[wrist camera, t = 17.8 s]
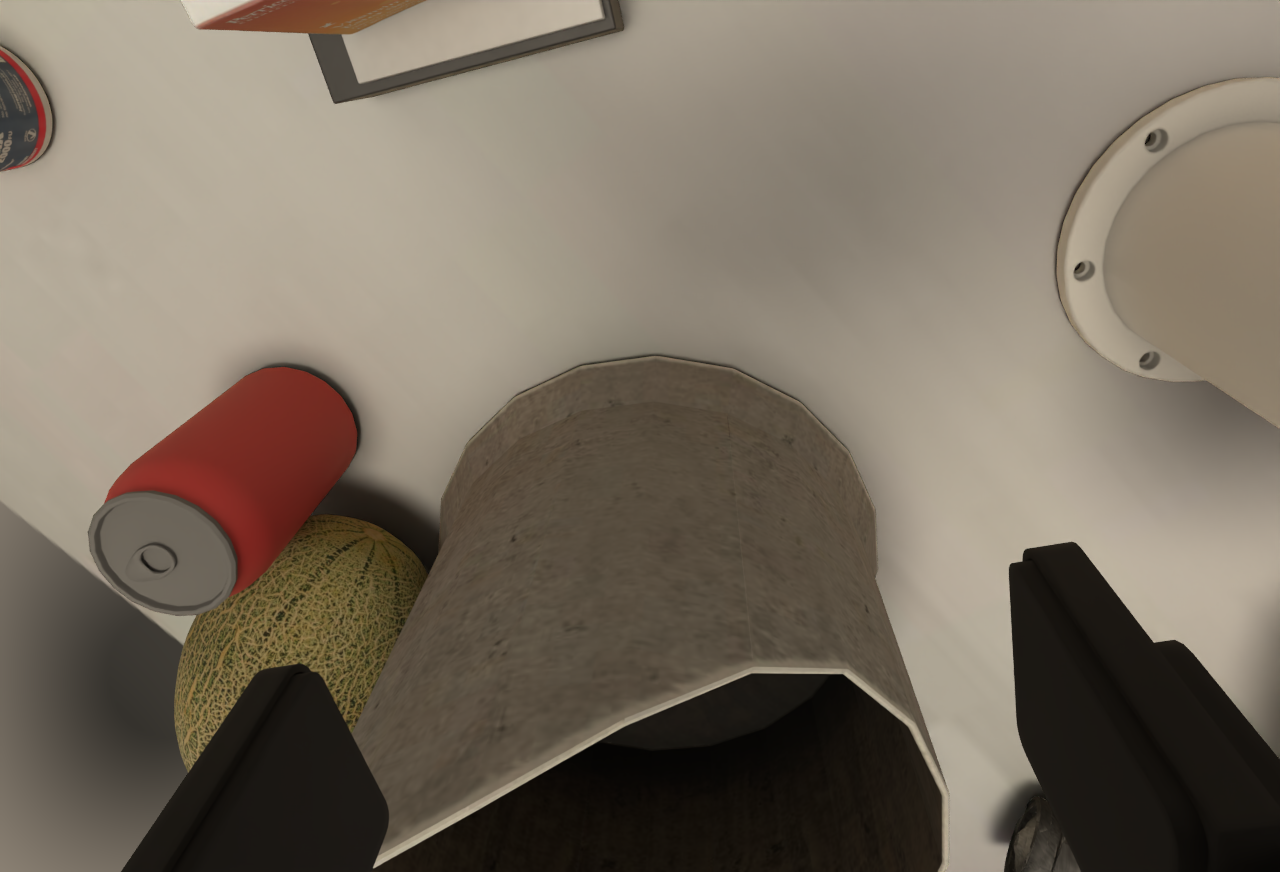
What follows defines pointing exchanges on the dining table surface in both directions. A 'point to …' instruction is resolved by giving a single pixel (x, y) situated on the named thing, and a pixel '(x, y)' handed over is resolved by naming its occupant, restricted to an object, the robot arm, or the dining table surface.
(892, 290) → the dining table surface
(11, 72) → the pill bottle
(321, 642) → the fruit
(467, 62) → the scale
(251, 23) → the small box
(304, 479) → the beer can
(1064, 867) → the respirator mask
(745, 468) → the grey fabric bucket
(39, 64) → the dining table surface
